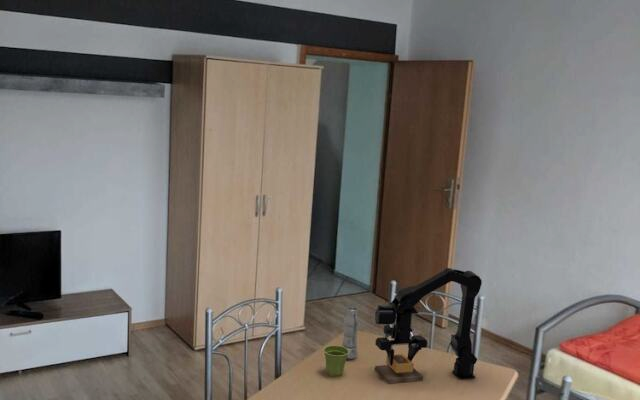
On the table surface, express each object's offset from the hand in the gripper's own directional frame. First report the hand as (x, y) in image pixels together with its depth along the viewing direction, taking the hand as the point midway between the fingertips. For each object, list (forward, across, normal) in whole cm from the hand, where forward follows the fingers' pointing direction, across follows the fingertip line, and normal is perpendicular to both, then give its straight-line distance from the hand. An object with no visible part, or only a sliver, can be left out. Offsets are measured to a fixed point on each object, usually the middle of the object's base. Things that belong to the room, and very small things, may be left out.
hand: (399, 364), depth 243 cm
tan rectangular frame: (+1, 0, 0) cm, 1 cm away
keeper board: (+4, 0, 0) cm, 4 cm away
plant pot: (+4, +23, -6) cm, 24 cm away
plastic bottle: (+4, +13, -18) cm, 23 cm away
